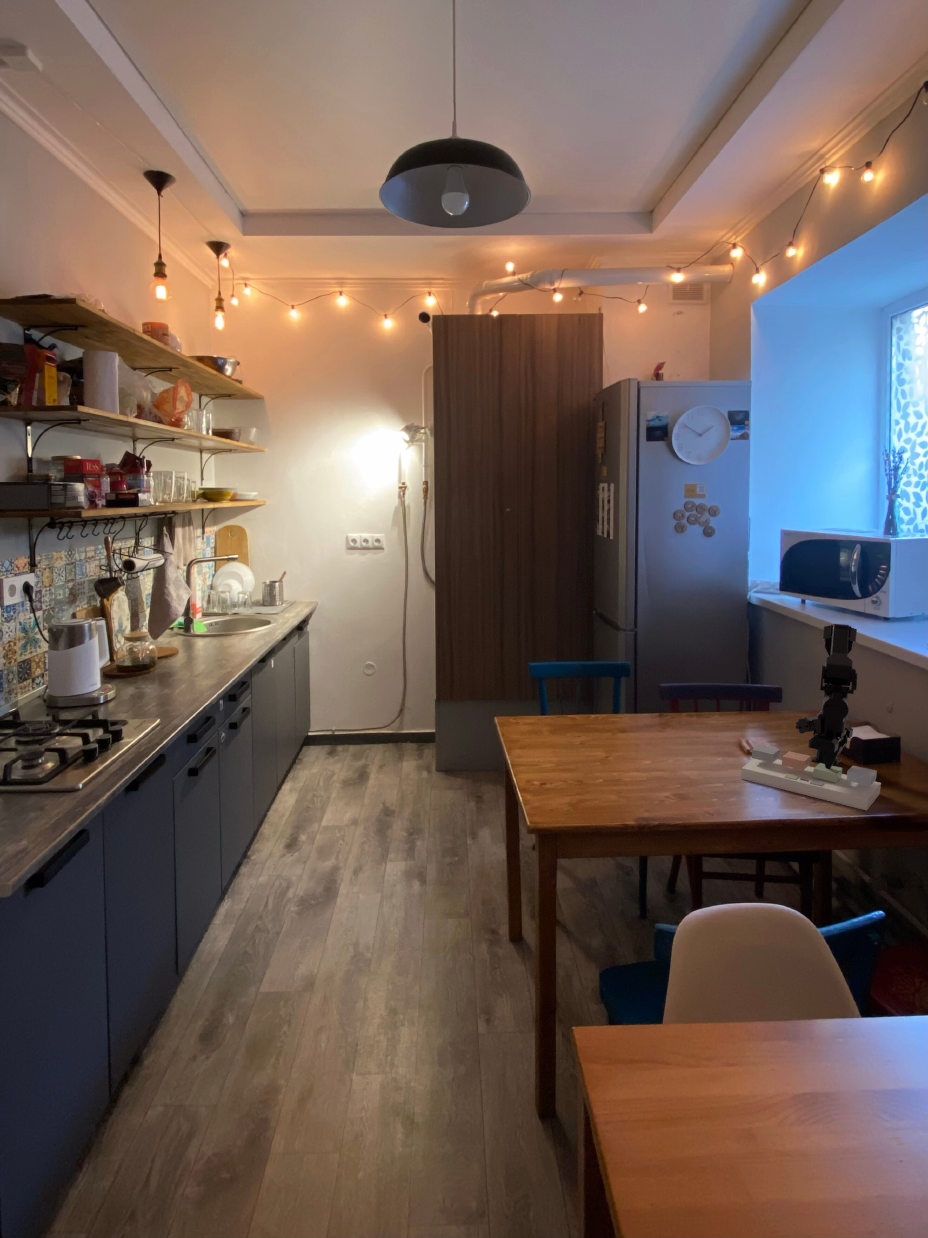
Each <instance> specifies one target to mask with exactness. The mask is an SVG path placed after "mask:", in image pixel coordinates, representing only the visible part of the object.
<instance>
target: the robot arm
mask: <svg viewBox="0 0 928 1238" xmlns="http://www.w3.org/2000/svg"><path fill="white" fill-rule="evenodd" d="M822 631H823V632H822V642H824V649H825V651H826V653H827V655H828V656H827V657H826V658H825V663H824V664H825V665H822V667H821V676H820V687H819V691H821V692H822V691H823V694H822V695H823V696H822V704H821V705H822V706H821V710H820V711H819V712H818V713H817V715H815V716H809V717H800V718H799V719H798V720H796V722H795V729H797V730H798V734H804V733H810V732H812V737H811V738H810V739H808V745H807V746H808V748H810V749H814V750H816V751H815V756H814V757H813V758H811V762H813V763H818V764H819V763H822V764H825V768H827V769H830V768H831V767H832V766H836V767H837V765H839V764H840V763H841V761H842V759H841V758H838V757H839V756H840V754H841V752H842V751H843V748H845V746H846V745H847V744H848V740H849V739H851V738H852V737H853V734H854V729H853V727H852V726H851V725H849V724H846V720H848V718H849V703H848V702H849V695H854V693H855V691H857V687H858V686H857V684H858V673H857V670H856V668H853V661H854V660H852V659H851V658H850V657H849V656H848V655H849V654H850V653H851V651H852V650H853V644H854V645H855V644H856V640H857V633H858V632H857V631H858V629H857V628H854V627H852V625H849V624H843V623H833V624H832V623H831V624H830V625H826V626H823V630H822Z"/></svg>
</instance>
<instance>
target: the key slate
mask: <svg viewBox="0 0 928 1238" xmlns="http://www.w3.org/2000/svg"><path fill="white" fill-rule="evenodd" d="M780 753H781V749H780V748H776V747H772V746H766V745H763V744H758V745H757V746H755V747H754V748H752V749H751V759H758V760H762V761H767V762H771V763H773V762H774V761H776V760H777V759H779V758H780Z"/></svg>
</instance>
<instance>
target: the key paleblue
mask: <svg viewBox="0 0 928 1238" xmlns="http://www.w3.org/2000/svg"><path fill="white" fill-rule="evenodd" d="M877 771H878V770H875V769H871V768H868V767H867V768H866V767H861V766H856V765H852V766H851V767H850V768H849V769H848V770H847V772H846V775H847V779H846V780H848V781H852V782H856V783H860V784H865V785H869V786H871V785H872V784H873V783H874V781H875V782H876V779H877V774H878V773H877Z"/></svg>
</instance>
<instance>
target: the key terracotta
mask: <svg viewBox="0 0 928 1238" xmlns="http://www.w3.org/2000/svg"><path fill="white" fill-rule="evenodd" d="M811 757H812V756H811V755H808V754H803V753H799V752H793V751H789V750H788V752H786V753H785V754H784V755H782V757H781V758H782V759H781V760H782V765H784V766H788V767H792V768H796V769H801V770H804V769H805V768H807V767H808V766H810V765H811V760H812V758H811Z"/></svg>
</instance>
